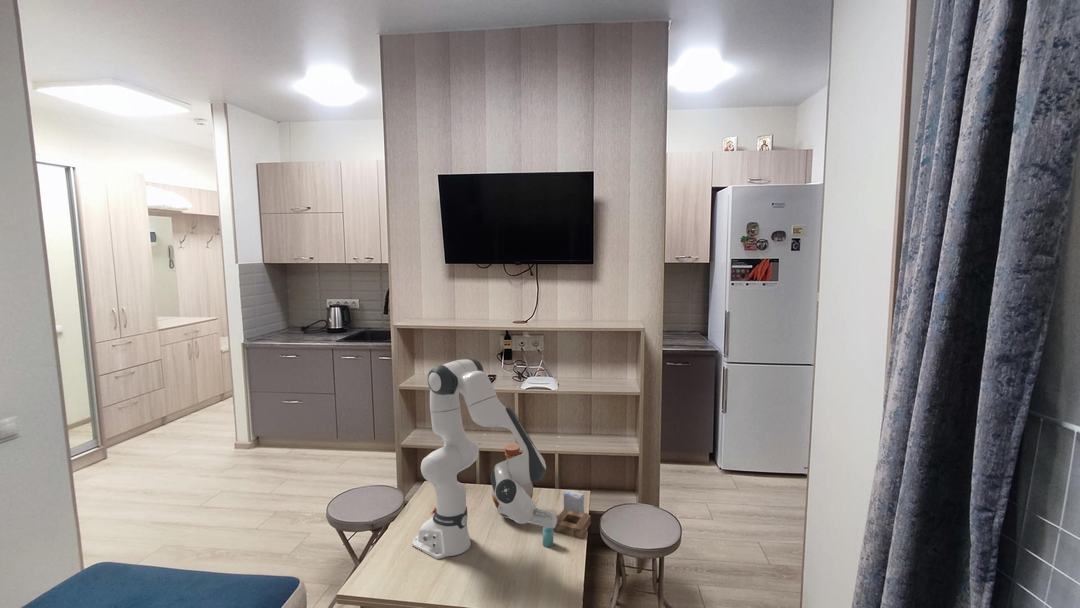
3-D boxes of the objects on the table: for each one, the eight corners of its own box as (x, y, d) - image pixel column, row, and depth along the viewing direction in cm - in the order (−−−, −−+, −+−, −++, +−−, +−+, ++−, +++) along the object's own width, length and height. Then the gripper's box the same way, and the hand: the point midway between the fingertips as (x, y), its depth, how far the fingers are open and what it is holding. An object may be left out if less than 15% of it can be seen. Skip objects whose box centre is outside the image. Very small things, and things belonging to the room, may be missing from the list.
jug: (501, 499, 215) (501, 435, 213) (539, 505, 210) (539, 439, 208) (485, 521, 196) (484, 451, 194) (526, 528, 191) (526, 456, 189)
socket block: (552, 531, 189) (552, 522, 188) (563, 517, 200) (563, 509, 199) (580, 538, 184) (580, 529, 183) (590, 523, 195) (590, 515, 194)
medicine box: (584, 513, 203) (584, 493, 202) (579, 517, 199) (579, 498, 199) (568, 508, 207) (568, 489, 207) (563, 512, 203) (563, 493, 203)
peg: (541, 545, 179) (541, 525, 178) (545, 540, 182) (545, 520, 182) (550, 548, 177) (550, 528, 177) (554, 542, 181) (555, 522, 180)
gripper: (553, 505, 155) (564, 519, 165) (499, 493, 164) (512, 507, 173) (547, 524, 152) (559, 538, 161) (492, 511, 160) (506, 525, 170)
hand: (534, 522), depth 167 cm, fingers open, 8 cm apart
